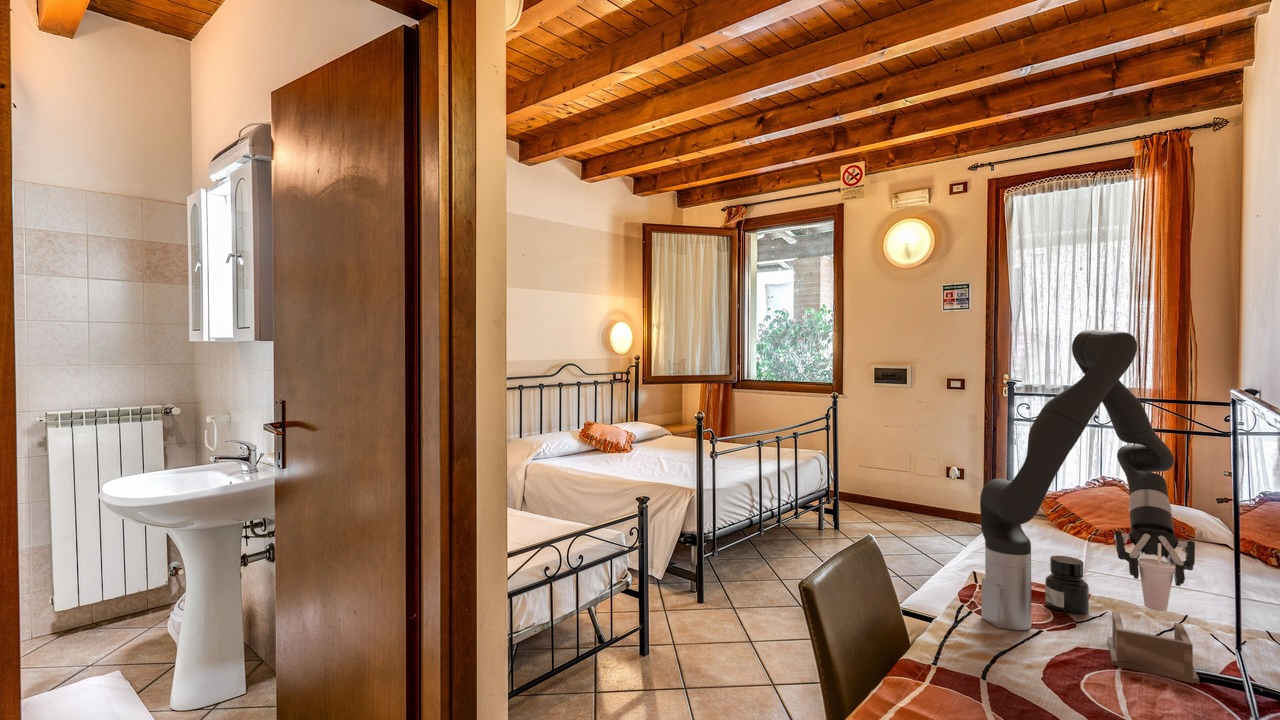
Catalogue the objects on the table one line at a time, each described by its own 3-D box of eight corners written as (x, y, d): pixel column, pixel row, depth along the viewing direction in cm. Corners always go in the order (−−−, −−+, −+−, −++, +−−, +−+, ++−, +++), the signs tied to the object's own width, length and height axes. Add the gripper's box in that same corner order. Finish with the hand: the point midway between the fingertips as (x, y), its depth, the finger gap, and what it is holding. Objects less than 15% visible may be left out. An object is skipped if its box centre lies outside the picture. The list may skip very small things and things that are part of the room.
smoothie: (1166, 615, 126) (1167, 548, 126) (1130, 604, 131) (1131, 540, 131) (1181, 610, 129) (1181, 545, 129) (1144, 599, 134) (1145, 537, 134)
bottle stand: (1107, 641, 132) (1107, 609, 132) (1186, 657, 125) (1186, 623, 125) (1112, 665, 121) (1112, 630, 121) (1199, 684, 114) (1199, 647, 114)
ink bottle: (1041, 598, 156) (1041, 552, 157) (1081, 603, 153) (1081, 556, 153) (1051, 612, 147) (1050, 563, 148) (1094, 618, 144) (1094, 567, 144)
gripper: (1112, 500, 140) (1115, 564, 130) (1194, 509, 132) (1205, 579, 122) (1109, 518, 145) (1113, 581, 135) (1189, 528, 137) (1199, 597, 127)
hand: (1157, 580), depth 129 cm, fingers closed on smoothie, 6 cm apart
